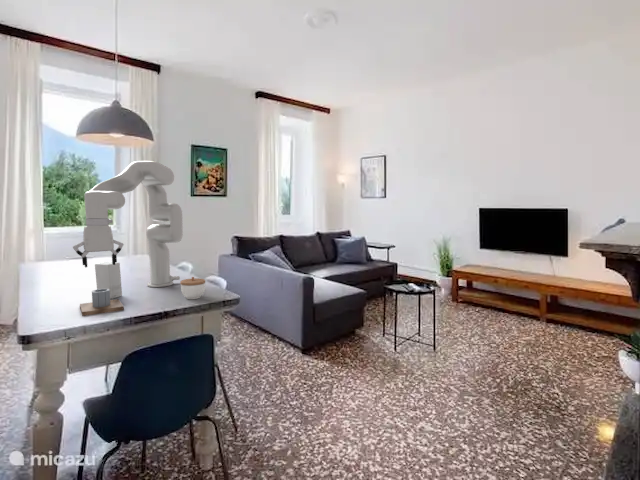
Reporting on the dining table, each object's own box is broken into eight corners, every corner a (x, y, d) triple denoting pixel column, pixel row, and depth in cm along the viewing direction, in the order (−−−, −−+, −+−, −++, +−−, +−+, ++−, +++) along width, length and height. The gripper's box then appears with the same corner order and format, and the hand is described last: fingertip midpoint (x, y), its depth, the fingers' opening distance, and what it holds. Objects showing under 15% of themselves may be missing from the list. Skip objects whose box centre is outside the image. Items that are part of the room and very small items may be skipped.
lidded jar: (175, 299, 167) (174, 278, 166) (191, 293, 177) (191, 274, 176) (195, 301, 164) (194, 280, 163) (210, 295, 174) (210, 275, 173)
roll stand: (118, 302, 161) (117, 287, 160) (123, 310, 150) (123, 294, 149) (79, 307, 153) (79, 291, 152) (82, 316, 141) (81, 299, 141)
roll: (108, 302, 155) (108, 288, 155) (110, 305, 150) (110, 290, 150) (92, 304, 152) (91, 290, 151) (93, 308, 147) (92, 292, 146)
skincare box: (122, 296, 172) (121, 262, 171) (110, 299, 166) (108, 264, 164) (108, 294, 175) (107, 261, 173) (96, 297, 169) (94, 263, 167)
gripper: (120, 221, 156) (122, 262, 158) (70, 223, 146) (73, 266, 148) (123, 222, 150) (125, 264, 152) (71, 224, 140) (74, 269, 142)
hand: (100, 265), depth 150 cm, fingers open, 9 cm apart
